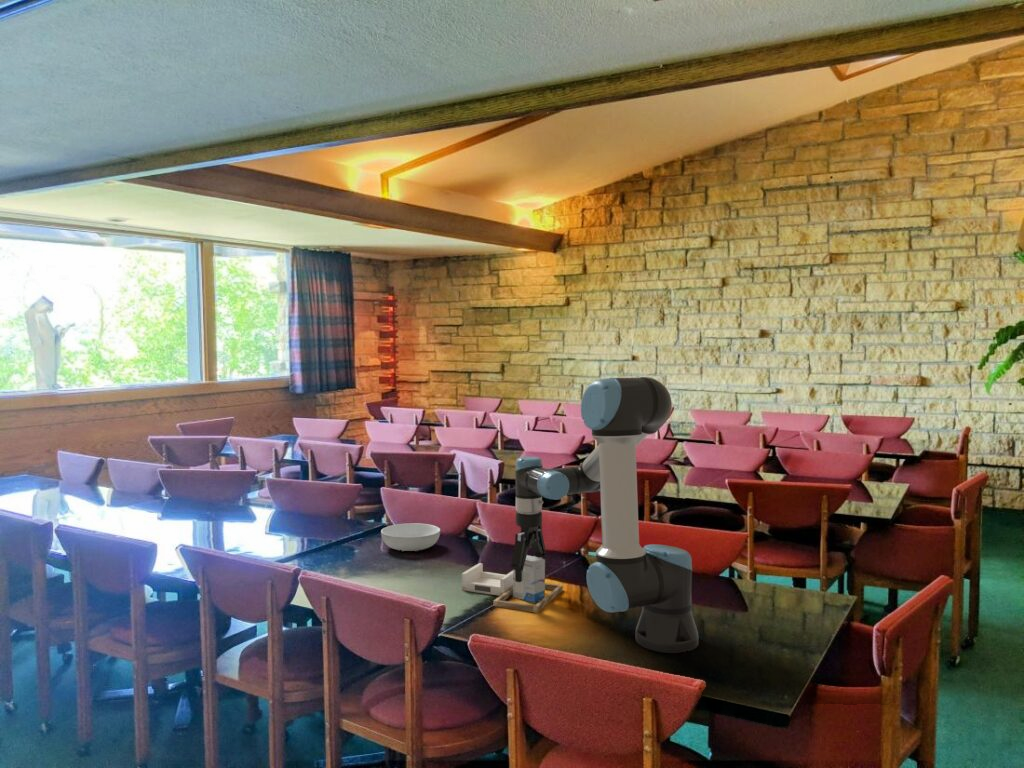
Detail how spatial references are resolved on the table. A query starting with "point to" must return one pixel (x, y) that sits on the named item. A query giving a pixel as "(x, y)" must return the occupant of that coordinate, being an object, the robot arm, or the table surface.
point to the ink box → (532, 580)
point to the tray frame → (524, 607)
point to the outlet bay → (486, 581)
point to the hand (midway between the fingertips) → (529, 585)
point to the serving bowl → (410, 536)
